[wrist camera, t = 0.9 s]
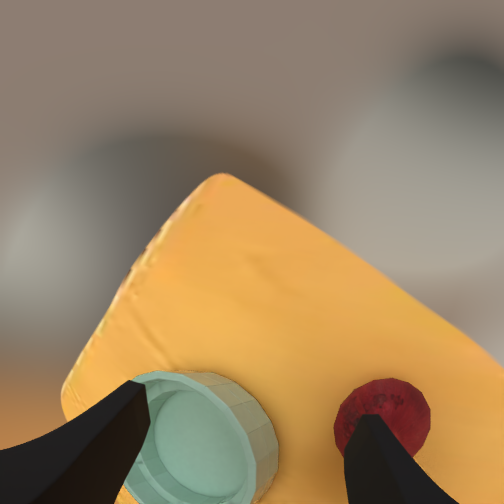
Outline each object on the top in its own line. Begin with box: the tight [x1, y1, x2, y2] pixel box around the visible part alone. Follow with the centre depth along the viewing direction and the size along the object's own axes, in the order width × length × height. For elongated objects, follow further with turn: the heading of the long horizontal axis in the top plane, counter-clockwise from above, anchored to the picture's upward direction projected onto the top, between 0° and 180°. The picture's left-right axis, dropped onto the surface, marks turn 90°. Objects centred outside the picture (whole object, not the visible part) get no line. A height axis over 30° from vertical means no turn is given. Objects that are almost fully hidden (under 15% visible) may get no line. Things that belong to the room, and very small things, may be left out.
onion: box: [334, 378, 430, 457], centre depth 14 cm, size 6×6×8 cm
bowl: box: [123, 370, 279, 504], centre depth 19 cm, size 13×13×5 cm
